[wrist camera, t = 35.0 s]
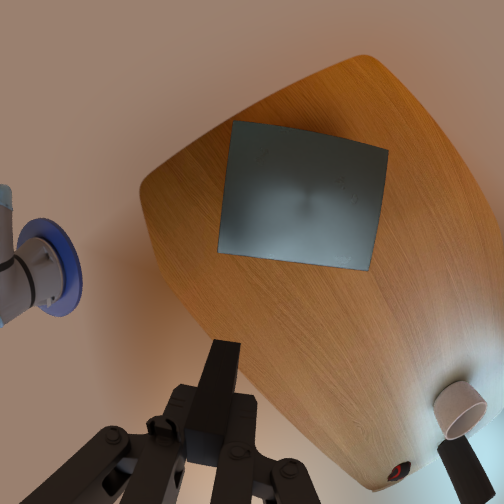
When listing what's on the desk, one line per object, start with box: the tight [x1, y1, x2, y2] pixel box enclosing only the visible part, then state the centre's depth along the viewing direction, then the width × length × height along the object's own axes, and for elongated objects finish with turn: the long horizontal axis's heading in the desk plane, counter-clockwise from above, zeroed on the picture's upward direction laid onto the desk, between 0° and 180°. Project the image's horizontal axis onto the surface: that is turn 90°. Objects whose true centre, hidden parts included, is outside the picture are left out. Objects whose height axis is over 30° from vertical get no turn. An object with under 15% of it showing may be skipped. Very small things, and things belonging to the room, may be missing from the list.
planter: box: [434, 381, 487, 440], centre depth 42 cm, size 12×12×11 cm
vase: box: [437, 435, 496, 504], centre depth 38 cm, size 10×10×30 cm
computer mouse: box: [388, 462, 411, 481], centre depth 54 cm, size 6×11×4 cm, turn 0°
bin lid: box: [217, 120, 389, 271], centre depth 25 cm, size 15×13×1 cm
